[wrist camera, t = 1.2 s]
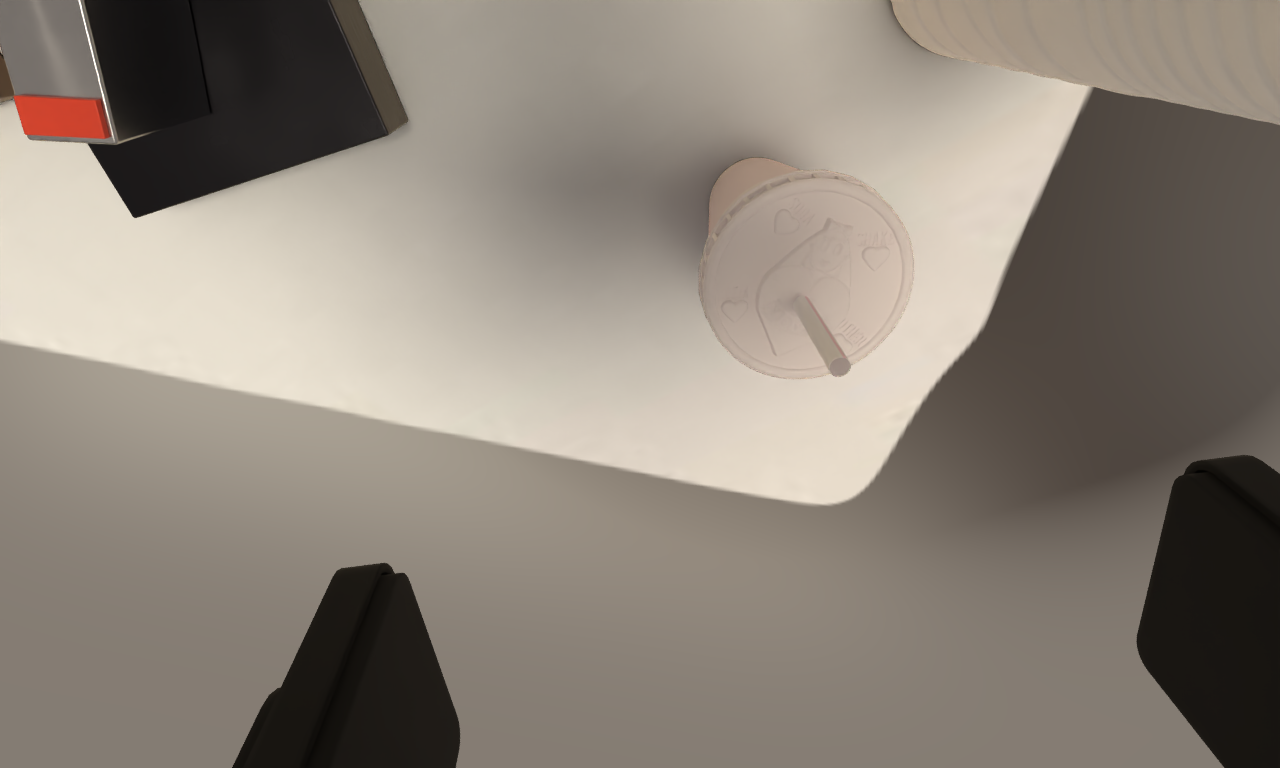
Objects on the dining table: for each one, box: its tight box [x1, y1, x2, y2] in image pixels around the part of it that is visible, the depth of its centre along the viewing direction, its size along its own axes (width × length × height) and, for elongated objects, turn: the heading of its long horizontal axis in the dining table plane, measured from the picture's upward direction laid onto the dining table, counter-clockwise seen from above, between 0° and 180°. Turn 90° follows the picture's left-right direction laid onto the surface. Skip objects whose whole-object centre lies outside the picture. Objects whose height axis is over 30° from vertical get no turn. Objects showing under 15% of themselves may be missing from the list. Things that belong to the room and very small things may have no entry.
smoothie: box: [699, 157, 914, 379], centre depth 25 cm, size 6×6×14 cm
